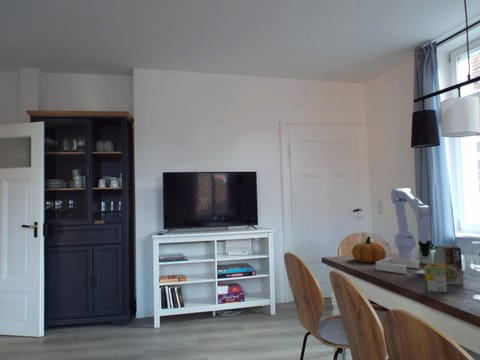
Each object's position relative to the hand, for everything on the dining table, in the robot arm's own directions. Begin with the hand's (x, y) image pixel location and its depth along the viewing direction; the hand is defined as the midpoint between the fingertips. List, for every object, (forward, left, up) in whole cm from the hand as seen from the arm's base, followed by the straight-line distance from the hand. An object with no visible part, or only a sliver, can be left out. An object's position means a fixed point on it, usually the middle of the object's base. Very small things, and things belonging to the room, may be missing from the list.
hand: (425, 255), depth 170 cm
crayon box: (+32, +14, -9) cm, 36 cm away
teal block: (0, 0, -2) cm, 2 cm away
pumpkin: (-12, -37, -9) cm, 40 cm away
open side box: (0, -14, -9) cm, 16 cm away
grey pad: (0, 0, -9) cm, 9 cm away
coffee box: (+14, +14, -9) cm, 22 cm away
